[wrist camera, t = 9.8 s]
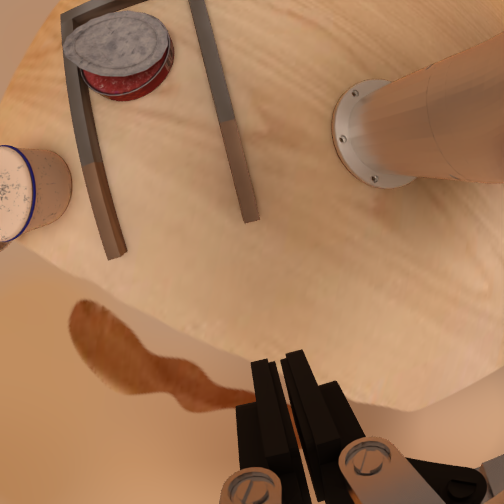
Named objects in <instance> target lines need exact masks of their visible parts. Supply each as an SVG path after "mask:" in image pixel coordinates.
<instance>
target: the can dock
mask: <svg viewBox="0 0 504 504" xmlns="http://www.w3.org/2000/svg"><path fill="white" fill-rule="evenodd" d="M144 1H147V0H91V1H88V2H86V3H84V4H82V5H79V6H77V7H75V8H73V9H71V10H69V11H67V12H65V13H63V14H61V34H62V47H63V44H64V42H65V40H66V37H67V36H68V35H70V34H71V33H72V32H73V31H74V30H75V29H76V28H77V27H79V26H81V25H83V24H85V23H87V22H88V21H90V20H91V19H94V18H97V17H101V16H103V15H105V14H108V13H113V12H115V11H118V10H121V9H123V8H126V7H129V6H132V5H135V4H138V3H141V2H144ZM189 4H190V8H191V12H192V16H193V20H194V24H195V28H196V32H197V36H198V40H199V44H200V48H201V52H202V56H203V60H204V64H205V68H206V72H207V76H208V80H209V84H210V88H211V92H212V96H213V100H214V104H215V108H216V112H217V116H218V120H219V124H220V128H221V132H222V136H223V140H224V144H225V148H226V152H227V156H228V160H229V164H230V168H231V172H232V176H233V180H234V184H235V188H236V192H237V196H238V200H239V204H240V208H241V212H242V216H243V220H244V222H245V223H249V222H253V221H257V220H260V217H259V213H258V209H257V205H256V201H255V197H254V193H253V189H252V184H251V180H250V176H249V172H248V168H247V164H246V160H245V156H244V152H243V148H242V144H241V140H240V136H239V132H238V128H237V124H236V120H235V116H234V112H233V108H232V104H231V100H230V97H229V93H228V89H227V85H226V81H225V77H224V73H223V69H222V66H221V62H220V58H219V54H218V50H217V46H216V43H215V39H214V35H213V31H212V28H211V24H210V20H209V16H208V13H207V9H206V5H205V2H204V0H189ZM63 58H64V67H65V76H66V84H67V91H68V98H69V104H70V111H71V116H72V122H73V128H74V133H75V138H76V143H77V148H78V153H79V157H80V162H81V166H82V171H83V175H84V179H85V183H86V187H87V191H88V195H89V199H90V202H91V206H92V210H93V213H94V217H95V220H96V224H97V227H98V230H99V234H100V237H101V240H102V243H103V246H104V250H105V253H106V256H107V259H108V260H111V259H115V258H118V257H121V256H122V255H123V254H124V253H126V252H127V248H126V245H125V242H124V239H123V235H122V232H121V229H120V225H119V222H118V218H117V215H116V211H115V208H114V204H113V201H112V197H111V193H110V189H109V185H108V181H107V178H106V173H105V169H104V165H103V161H102V157H101V152H100V148H99V143H98V138H97V134H96V129H95V124H94V119H93V113H92V108H91V102H90V96H89V90H88V85H87V84H86V83H85V82H84V79H83V77H82V75H81V70H80V68H79V67H78V66H77V65H76V64H74V63H73V62H72V61H71V60H69V59H68V58H66V57H65V54H64V50H63Z"/></svg>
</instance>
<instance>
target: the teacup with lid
mask: <svg viewBox="0 0 504 504" xmlns="http://www.w3.org/2000/svg"><path fill="white" fill-rule="evenodd" d="M71 187H72V185H71V176H70V172H69V170H68V167H67V165H66V164H65V162H64V161H63V159H62V158H61V157H60V156H58V155H57V154H56V153H54V152H51V151H47V150H35V149H19V148H15V147H13V146H9V145H1V146H0V252H1V251H2V250H4V249H5V248H6V247H7V246H8V245H9V244H10V243H11V242H12V241H13V240H14V239H15V238H17V237H18V236H20V235H21V234H22V233H25V232H28V231H31V230H33V229H36V228H39V227H42V226H44V225H47V224H50V223H52V222H54V221H56V220H57V219H58V218H59V217H60V216H61V215H62V214H63V212H64V211H65V209H66V207H67V205H68V203H69V200H70V196H71Z"/></svg>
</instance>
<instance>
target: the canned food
mask: <svg viewBox="0 0 504 504" xmlns="http://www.w3.org/2000/svg"><path fill="white" fill-rule="evenodd" d="M63 50H64V54H65V57H66V58H68V59H69V60H71V61H72V62H73V63H74V64H76V65H77V66H78V67H79V68H80V70H81V75H82V77H83V79H84V82H85V83H86V84H87V85H88V87H89V88H91V89H92V90H93V91H95V92H97V93H99V94H101V95H102V96H104V97H106V98H108V99H111V100H116V101H130V100H134V99H138V98H140V97H143V96H145V95H147V94H148V93H150V92H152V91H153V90H154V89H155V88H157V87H158V86H159V85H160V84H161V83H162V82H163V80H164V79H165V78H166V76H167V75H168V73H169V71H170V69H171V66H172V64H173V59H174V47H173V44H172V41H171V39H170V36H169V33H168V30H167V29H166V27H165V25H164V24H163V23H162V22H161V21H160V20H159V19H157V18H155V17H154V16H152V15H149V14H146V13H140V12H133V11H122V12H114V13H108V14H105V15H103V16H101V17H97V18H94V19H91V20H90V21H88V22H87V23H85V24H83V25H81V26H79V27H77V28H76V29H75V30H74V31H73V32H72V33H71V34H70V35H68V36H67V37H66V40H65V42H64V44H63Z"/></svg>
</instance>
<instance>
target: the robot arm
mask: <svg viewBox="0 0 504 504" xmlns="http://www.w3.org/2000/svg"><path fill="white" fill-rule="evenodd" d="M352 93H353V94H354V96H353V95H352ZM332 136H333V141H334V145H335V148H336V150H337V153H338V155H339V157H340V159H341V161H342V162H343V164H344V165H345V166H346V168H347V169H348V170H349V171H350V173H352V174H353V175H354V176H355V177H356V178H358V179H359V180H361V181H362V182H364V183H366V184H368V185H371V186H374V187H377V188H383V189H394V188H399V187H403V186H405V185H407V184H409V183H411V182H412V181H413V180H414V179H416V178H417V177H426V178H438V179H449V180H459V181H468V182H480V183H489V184H498V183H504V32H502V33H500V34H499V35H497V36H495V37H493V38H491V39H489V40H487V41H485V42H483V43H481V44H478V45H476V46H474V47H472V48H469V49H467V50H465V51H462V52H460V53H457V54H455V55H453V56H450V57H448V58H445V59H444V60H441V61H439V62H436V63H434V64H432V65H429V66H427V67H425V68H423V69H420V70H418V71H416V72H414V73H411V74H409V75H407V76H405V77H402V78H400V79H398V80H396V81H394V82H391V81H387V80H383V79H370V80H364V81H362V82H359V83H357V84H355V85H354V86H352V87H351V88H349V89H348V90H347V91H346V92H345V93H344V94H343V95H342V96H341V98H340V99H339V101H338V102H337V105H336V107H335V110H334V113H333V119H332ZM339 138H341V139H342V142H340V141H339ZM371 177H373V180H371ZM280 361H281V366H282V370H283V374H284V378H285V383H286V387H287V391H288V395H289V400H290V404H291V408H292V413H293V417H294V421H295V425H296V428H297V432H298V435H299V439H300V442H301V446H302V449H303V452H304V456H305V460H306V463H307V466H308V470H309V474H310V477H311V481H312V484H313V488H314V491H315V494H316V498H317V501H318V502H321V501H325V503H326V504H504V454H503V455H501V456H498V457H496V458H494V459H491V460H489V461H487V462H484V463H482V465H481V467H478V468H475V469H472V468H468V467H460V466H453V465H446V464H439V463H433V462H427V461H421V460H416V459H411V458H406V457H404V456H403V455H402V454H401V453H400V451H399V450H398V449H397V448H396V447H395V446H394V444H392V443H391V442H390V441H389V440H386V439H384V438H381V437H373V436H372V437H366V436H365V434H364V432H363V430H362V429H361V427H360V425H359V423H358V421H357V419H356V417H355V415H354V413H353V411H352V409H351V407H350V405H349V403H348V401H347V399H346V397H345V396H344V394H343V392H342V390H341V388H340V386H339V384H338V383H337V381H333V382H329V383H326V384H323V385H319V386H318V384H317V382H316V380H315V377H314V375H313V373H312V371H311V368H310V366H309V364H308V361H307V359H306V357H305V354H304V352H303V350H298V351H294V352H290V353H287V354H286V358H285V359H281V360H280ZM251 369H252V376H253V382H254V389H255V396H256V402H253V403H248V404H243V405H238V406H236V419H237V420H236V421H237V436H238V448H239V463H240V471H237V472H235V473H234V474H233V475H231V476H230V477H229V478H228V479H227V480H226V481H225V483H224V485H223V488H222V490H221V496H220V501H219V504H312V502H311V498H310V494H309V489H308V486H307V481H306V477H305V473H304V469H303V464H302V460H301V456H300V452H299V448H298V444H297V441H296V437H295V433H294V430H293V426H292V422H291V419H290V415H289V411H288V408H287V404H286V400H285V397H284V393H283V389H282V386H281V382H280V378H279V374H278V371H277V367H276V363H275V361H273V362H269V363H268V359H263V360H259V361H254V362H251Z"/></svg>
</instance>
